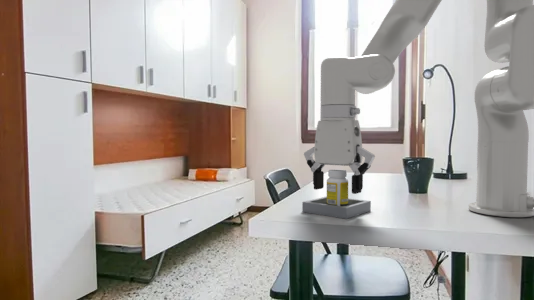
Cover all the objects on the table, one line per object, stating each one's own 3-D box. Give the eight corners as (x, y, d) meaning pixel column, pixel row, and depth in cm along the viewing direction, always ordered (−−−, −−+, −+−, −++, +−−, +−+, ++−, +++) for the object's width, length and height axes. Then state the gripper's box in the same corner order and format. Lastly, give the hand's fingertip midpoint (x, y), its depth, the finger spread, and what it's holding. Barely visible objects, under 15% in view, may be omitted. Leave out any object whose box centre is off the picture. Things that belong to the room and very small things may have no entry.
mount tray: (370, 210, 86) (370, 201, 86) (346, 218, 78) (346, 208, 78) (328, 204, 93) (328, 196, 93) (302, 211, 85) (302, 201, 85)
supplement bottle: (346, 206, 87) (347, 169, 87) (349, 209, 83) (349, 171, 82) (325, 205, 88) (326, 169, 88) (327, 209, 83) (327, 171, 83)
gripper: (381, 113, 82) (380, 192, 82) (314, 116, 93) (313, 185, 94) (365, 112, 76) (364, 197, 77) (296, 114, 87) (295, 189, 88)
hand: (336, 190), depth 85 cm, fingers open, 9 cm apart
